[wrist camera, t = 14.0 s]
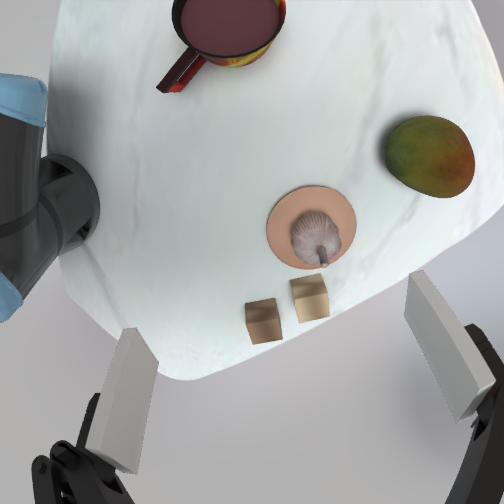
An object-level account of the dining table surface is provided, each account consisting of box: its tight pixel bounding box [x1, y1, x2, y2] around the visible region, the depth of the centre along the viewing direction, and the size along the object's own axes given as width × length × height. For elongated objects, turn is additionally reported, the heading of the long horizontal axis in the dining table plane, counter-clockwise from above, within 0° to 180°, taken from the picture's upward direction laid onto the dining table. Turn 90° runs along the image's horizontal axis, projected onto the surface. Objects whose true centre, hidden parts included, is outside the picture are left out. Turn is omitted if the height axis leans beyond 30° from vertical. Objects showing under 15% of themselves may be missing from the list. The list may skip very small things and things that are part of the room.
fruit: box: [385, 116, 475, 198], centre depth 33 cm, size 12×13×10 cm
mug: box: [156, 0, 286, 93], centre depth 25 cm, size 10×14×12 cm
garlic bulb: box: [290, 212, 342, 268], centre depth 39 cm, size 8×7×8 cm
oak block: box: [290, 273, 330, 323], centre depth 47 cm, size 5×5×5 cm
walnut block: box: [245, 298, 283, 345], centre depth 49 cm, size 5×5×5 cm
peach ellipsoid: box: [267, 186, 356, 269], centre depth 43 cm, size 13×13×1 cm
